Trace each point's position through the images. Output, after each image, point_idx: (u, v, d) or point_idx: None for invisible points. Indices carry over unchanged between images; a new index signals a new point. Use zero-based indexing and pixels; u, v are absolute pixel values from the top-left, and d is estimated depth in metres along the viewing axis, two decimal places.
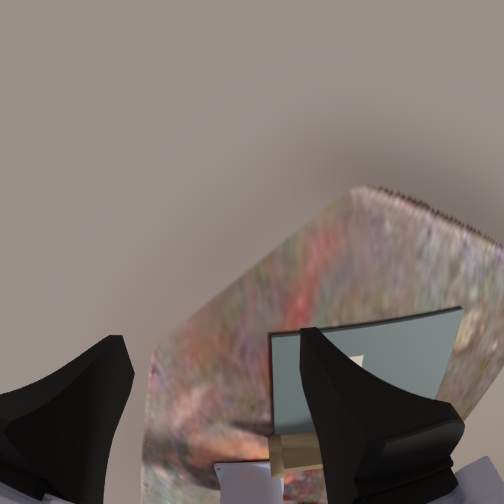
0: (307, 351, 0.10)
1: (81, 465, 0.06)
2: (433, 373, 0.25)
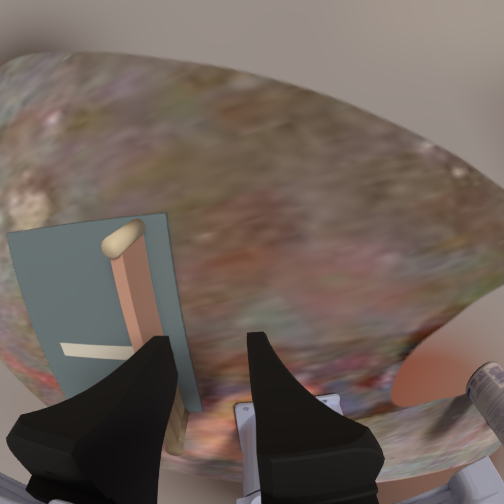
0: (248, 356, 0.10)
1: (139, 477, 0.06)
2: (72, 245, 0.20)
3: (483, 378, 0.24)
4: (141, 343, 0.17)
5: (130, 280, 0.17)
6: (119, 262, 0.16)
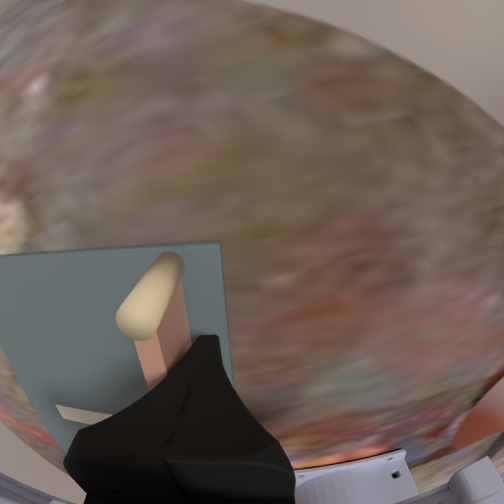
0: None
1: None
2: (63, 285, 0.12)
3: None
4: None
5: (170, 366, 0.09)
6: (151, 344, 0.08)
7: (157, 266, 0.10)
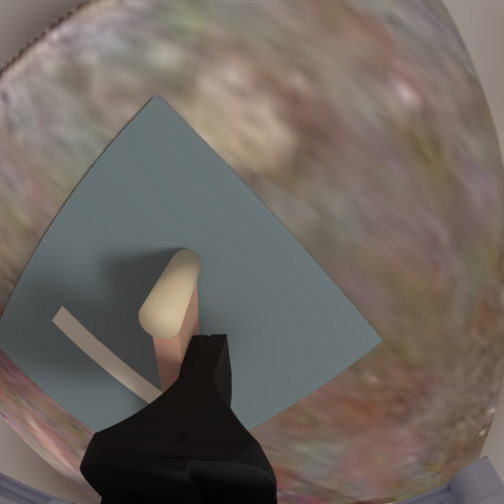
0: None
1: None
2: (254, 253, 0.12)
3: None
4: None
5: None
6: (170, 342, 0.08)
7: (178, 264, 0.10)
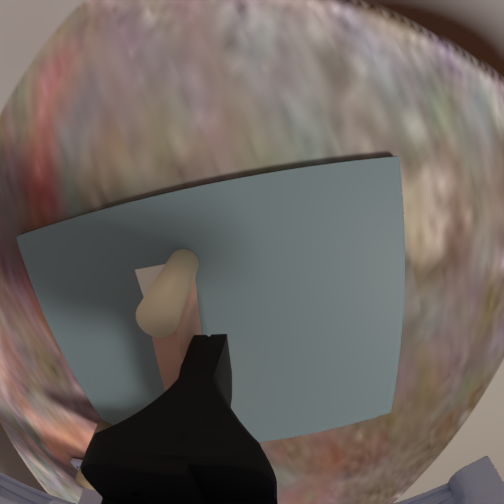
0: None
1: None
2: (374, 317, 0.13)
3: None
4: None
5: None
6: (169, 341, 0.08)
7: (174, 263, 0.10)
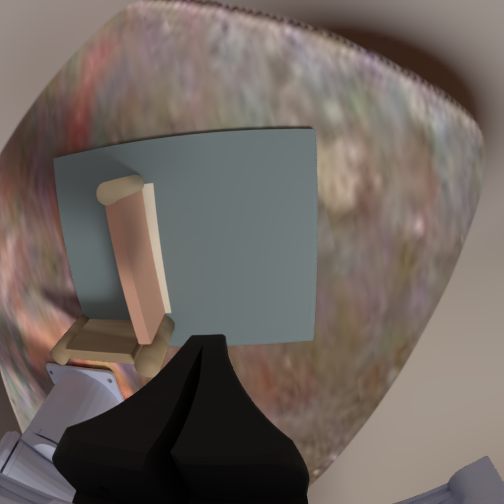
0: None
1: None
2: (293, 242, 0.20)
3: None
4: (137, 303, 0.16)
5: (126, 231, 0.15)
6: (115, 210, 0.15)
7: (124, 177, 0.16)
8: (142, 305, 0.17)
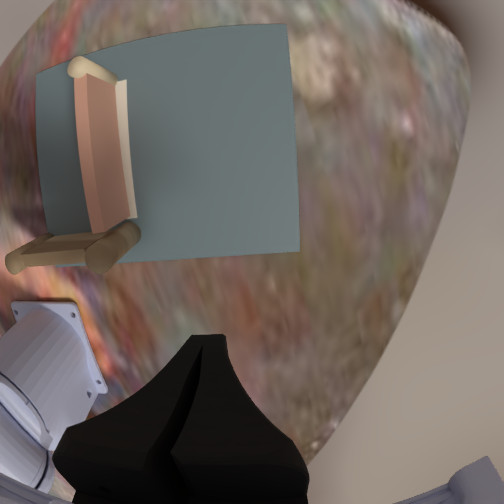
0: None
1: None
2: (268, 129, 0.17)
3: None
4: (93, 179, 0.14)
5: (91, 104, 0.13)
6: (82, 83, 0.12)
7: None
8: (99, 184, 0.14)
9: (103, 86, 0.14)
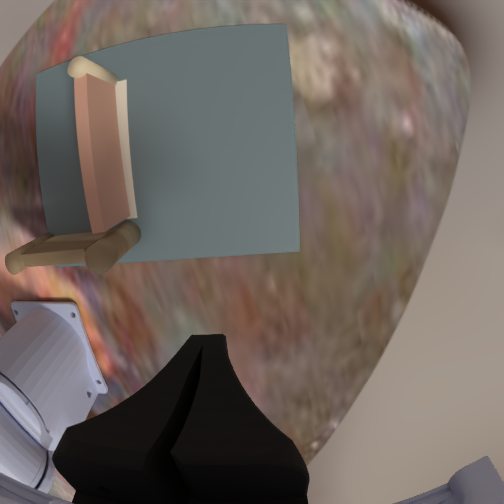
0: None
1: None
2: (268, 129, 0.17)
3: None
4: (93, 179, 0.14)
5: (91, 104, 0.13)
6: (82, 83, 0.12)
7: None
8: (99, 184, 0.14)
9: (103, 86, 0.14)
